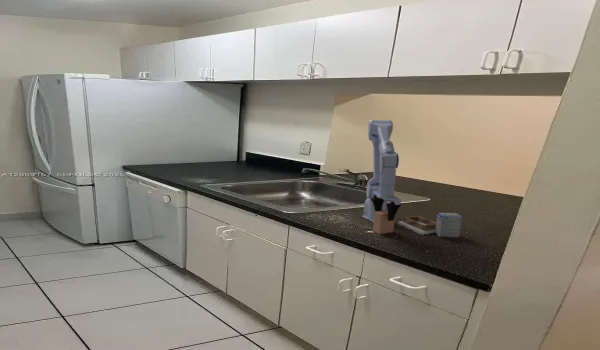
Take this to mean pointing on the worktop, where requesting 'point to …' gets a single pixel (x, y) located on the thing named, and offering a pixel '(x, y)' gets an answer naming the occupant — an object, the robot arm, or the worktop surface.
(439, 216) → the medicine box
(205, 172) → the worktop surface
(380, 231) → the key block
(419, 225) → the cradle
